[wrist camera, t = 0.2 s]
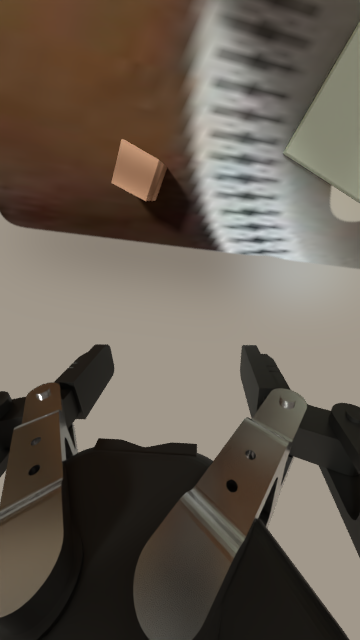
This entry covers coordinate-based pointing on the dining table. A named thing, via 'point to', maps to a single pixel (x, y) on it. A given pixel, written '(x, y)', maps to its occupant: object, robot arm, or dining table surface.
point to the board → (334, 125)
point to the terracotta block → (138, 172)
